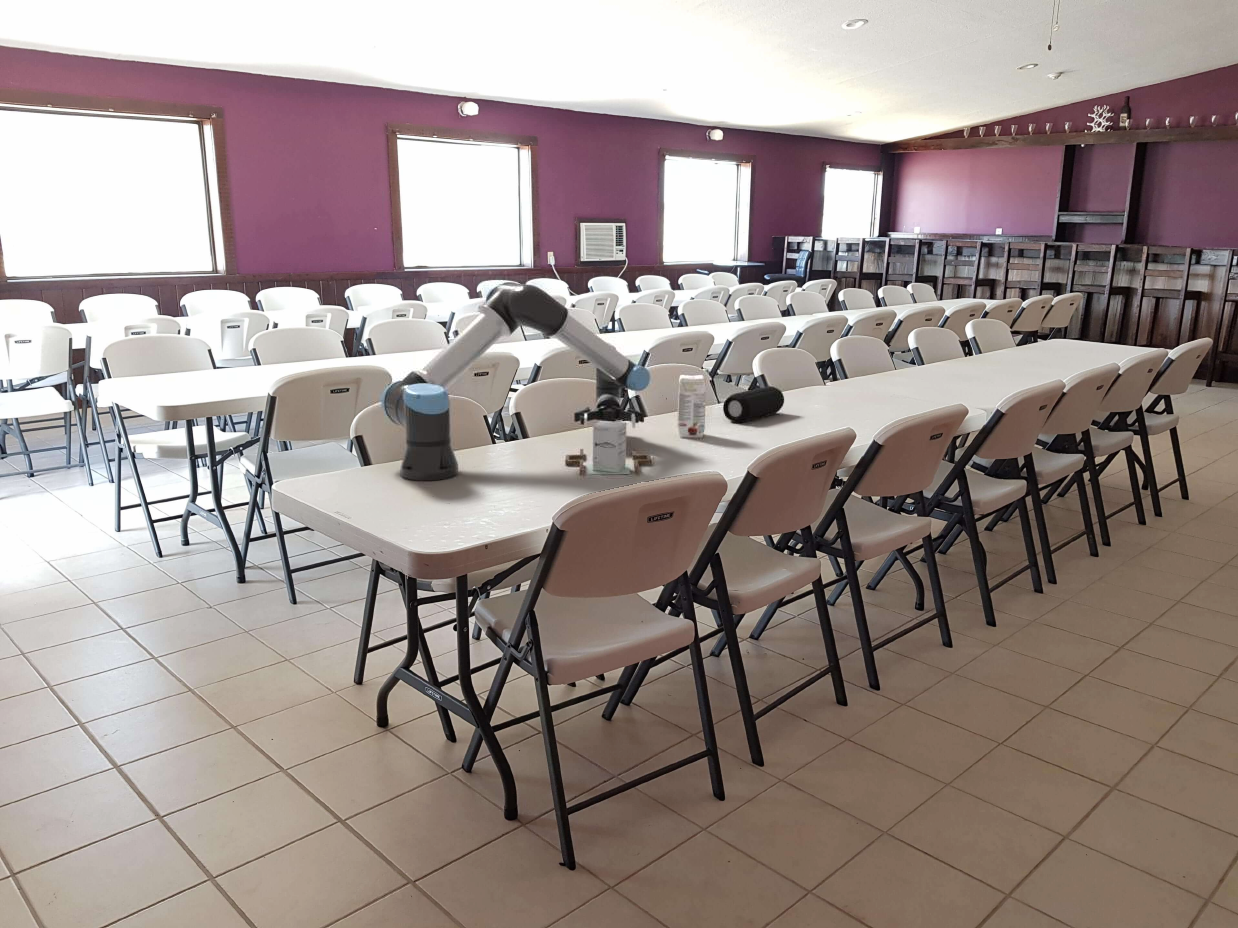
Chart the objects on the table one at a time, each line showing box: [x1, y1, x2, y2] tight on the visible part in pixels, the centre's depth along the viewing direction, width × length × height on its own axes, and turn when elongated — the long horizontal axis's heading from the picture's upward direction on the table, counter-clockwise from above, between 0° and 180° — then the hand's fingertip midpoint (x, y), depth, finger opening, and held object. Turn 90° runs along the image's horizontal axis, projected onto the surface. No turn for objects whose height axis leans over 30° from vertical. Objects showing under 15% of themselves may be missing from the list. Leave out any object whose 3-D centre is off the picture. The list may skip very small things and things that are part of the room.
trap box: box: [564, 448, 653, 476], centre depth 264 cm, size 24×24×2 cm
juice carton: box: [677, 374, 707, 439], centre depth 298 cm, size 8×9×19 cm
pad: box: [588, 463, 631, 476], centre depth 258 cm, size 11×10×1 cm
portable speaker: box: [722, 385, 785, 424], centre depth 327 cm, size 26×10×10 cm, turn 138°
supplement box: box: [592, 420, 628, 473], centre depth 257 cm, size 7×7×13 cm
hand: (609, 422), depth 267 cm, fingers open, 13 cm apart
